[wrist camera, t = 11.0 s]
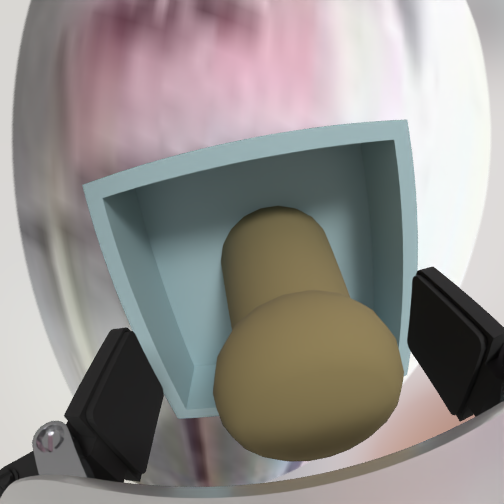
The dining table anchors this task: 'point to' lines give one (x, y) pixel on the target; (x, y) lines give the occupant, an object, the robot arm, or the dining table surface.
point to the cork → (299, 344)
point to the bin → (230, 213)
